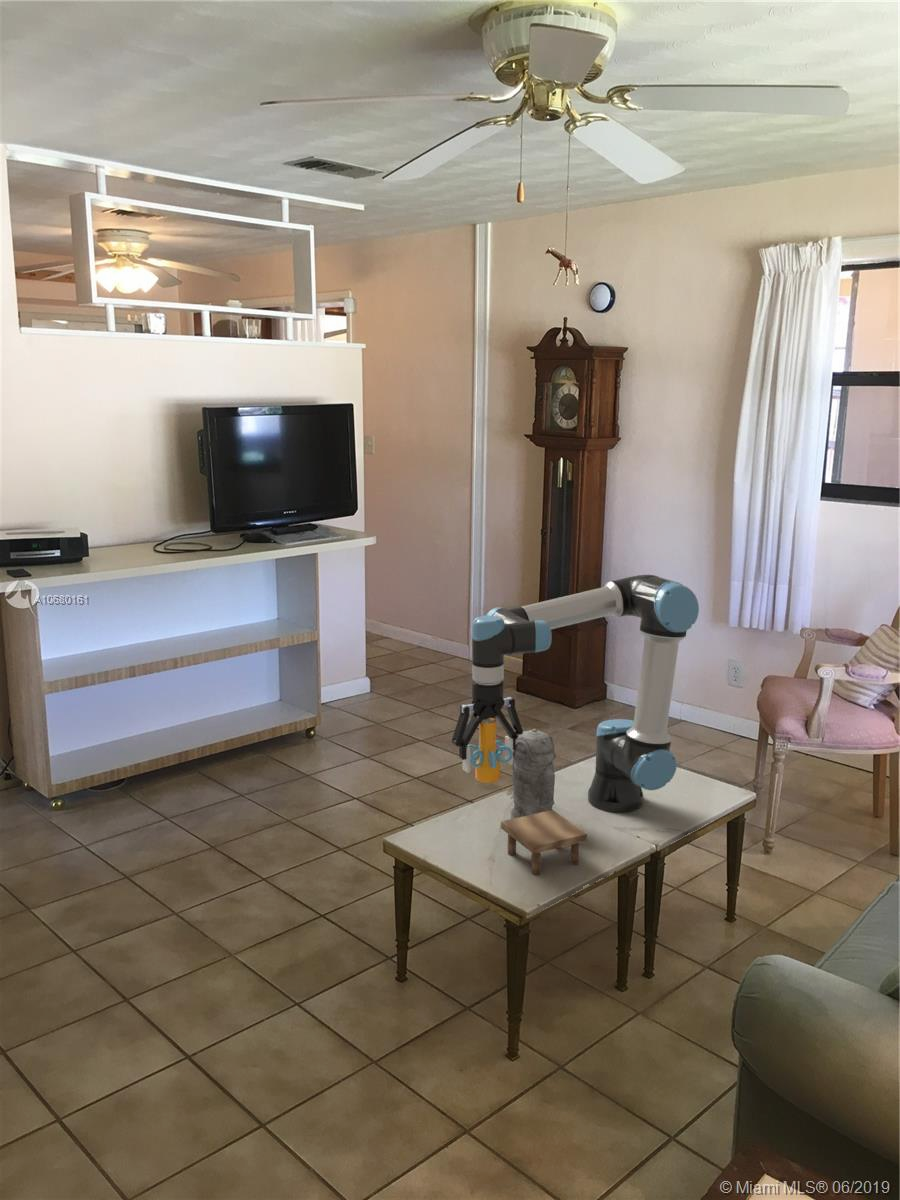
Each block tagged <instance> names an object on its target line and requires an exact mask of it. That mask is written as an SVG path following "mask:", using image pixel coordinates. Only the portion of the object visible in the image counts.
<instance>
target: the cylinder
mask: <svg viewBox="0 0 900 1200" xmlns="http://www.w3.org/2000/svg"><path fill="white" fill-rule="evenodd" d="M478 727H479V732H478V735H479V739H478V740H479V741H478V746H477V745H476V744H468V746H469V747H470V749H471V748H472V749H474V750H475V751H473V753H472V755H471V757H470V764H471V765H472V766H473V768H475V772H474V773H475V774H474V775H475V780H476V781H477V782H479V783H484V784H492V783H493V784H494V783H496V782H498V781H499V780H500V779H501V763H507V762H509V761H510V760H511V759H512V757H513V752H512V750H511V749H510V748H509V747H507V746H505V745H504V742H503V741H502V740H497V720H496V718H489V719H486V720H484V719H483V721H482V722H481V723H480V724H479V726H478ZM498 745H500V746H499V747H497V746H498ZM505 749H506V750H508V751H509V753H510V756H509V758H507V759H505V758H501V756H502V754H503V752H504V750H505ZM513 758H514V757H513Z"/></svg>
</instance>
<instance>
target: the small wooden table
mask: <svg viewBox="0 0 900 1200" xmlns="http://www.w3.org/2000/svg"><path fill="white" fill-rule="evenodd" d="M500 829H502V830H503V831H504V832H505V833H506V834H507V854H508V855H509V856H515V855H516V854H517V842H518V843H519V844H520V845H521V846H523V848H525V849H527V850H528V851H529V852H530V853H531V875H534V876H539V875H540V874H541V856H542V855H541V854H542V853H543V852H548V851H552V850H557V849H559V848H560V849H561V848H564V847H567V846H570V858H569V859H570V864H571V865H574V866H575V865H579V863H580V860H579V859H580V843H584V842H588V833H587V832H586V831H584V830H582V829H581V828H580V827H578V826H577V825H575V824H574V823H572V822H571V821H569V820H568V819H567V818H565V817H564V816H563V815H561V814H560V813H558V812H557V811H555V810H554V809H552V810H550V811H545V812H541V813H536V814H532V815H528V816H523V817H519V818H515V819H511V818H510V819H506V820H502V821H500Z"/></svg>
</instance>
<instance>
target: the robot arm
mask: <svg viewBox="0 0 900 1200" xmlns="http://www.w3.org/2000/svg"><path fill="white" fill-rule="evenodd" d="M698 601H699V600H698V598H697V595H696V594H695V593H694V591H693V590H691V588H689V587H688V586H686V585H683V584H682V583H681V582H677V581H674V580H670V579H668V578H667V579H666V578H663V577H660V576H657V575H654V574H653V575H652V574H638V575H634V576H629V577H624V578H619V579H616V580H612V581H611V580H610V581H607V582H606V583H605V585H604V586H603V587H598V588H594V589H589V590H585V591H581V592H579V593H574V594H569V595H565V596H562V597H561V596H559V597H556V598H552V599H548V600H544V601H540V602H535V603H532V604H530V603H529V604H527V605H523V606H518V607H514V608H506V607H499V606H498V607H497V606H496V607H494V608H492V609H490V610H489V611H488V612H487V614H486V615H481V616H477V617H476V618H474V619H473V621H472V627H471V651H472V652H471V653H472V656H471V657H472V658H471V659H472V660H471V661H472V665H471V672H472V673H471V675H472V676H471V677H472V679H471V680H473V681H472V683H471V685H472V686H471V687H472V689H471V691H472V692H471V695H472V701H471V703H470V704H464V703H462V704H460V705H459V706H460V708H459V712H460V713H459V717H458V719H457V723H456V725H455V729H454V732H453V735H452V739H451V743H452V744H453V745H455V746H456V747H459V748H458V749H459V750H458V751H459V753H458V754H459V755H458V756H459V758H460V759H461V760H462V761H461V763H462V766H461V767H462V771H464V772H465V773H467V774H470V773H471V761H470V758H471V748H470V747H469V746H468V745H470V742H471V740H472V738H473V736H474V734H475V732H476V731H477V729H478V727H479V724H480V723H481V722H482V721H483V719H484V720H486V719H489V718H493V719H497V720H498V722H499V723H500V725H501V726H502V728H503V730H505V732H506V734H507V735H504V746H507V747H509V748H510V749H511V750H512V752H513V750H515V748H516V740H517V738H518V736H519V735H521V734H522V733H523V731H524V729H523V727H522V723H521V721H520V719H519V715H518V713H517V710H516V699H515V698H513V697H511V696H506V697H505V698H504V682H503V680H504V679H505V678H504V677H505V676H504V675H505V673H504V670H505V669H504V668H505V667H504V662H505V661H504V660H505V656H510V655H519V654H521V655H522V654H531V653H534V654H535V653H536V654H537V653H539V652H543V651H547V650H549V649H550V647H551V645H552V638H553V637H552V636H553V634H552V630H554V629H558V628H562V627H563V628H564V627H566V626H571V625H575V624H579V623H580V624H581V623H583V622H588V621H592V620H596V619H599V618H605V617H608V616H611V617H614V618H621V617H626V616H627V617H628V616H629V617H636V618H640V624H639V625H640V626H639V632H640V633H641V634H642V636H643V637H644V643H643V649H642V656H641V662H640V663H641V665H640V670H639V672H640V673H639V679H638V685H637V686H638V687H637V695H636V701H635V702H636V703H635V709H634V716H633V717H634V718H633V720H632V719H625V718H623V719H621V718H616V719H615V718H614V719H607V720H604V721H601V722H600V723H599V724H598V725H597V729H596V735H595V737H596V743H595V744H596V749H595V750H596V751H595V771H594V775H593V779H592V782H591V784H590V787H589V789H588V792H587V801H588V802H589V804H590V805H592V806H593V807H595V808H597V809H599V810H603V811H607V812H612V813H613V812H614V813H627V812H633V811H637V810H638V809H640V808H641V807H642V806H643V804H644V793H643V790H647V791H656V790H660V789H662V788H664V787H665V786H666V785H667V784H668V783H670V782H671V781H672V780H673V778H674V777H675V774H676V773H677V772H676V771H677V767H678V763H677V759H676V757H675V756H674V754H673V753H672V752H671V744H672V737H671V735H670V734H669V733H668V731H667V730H668V724H669V716H670V710H671V709H670V708H671V701H672V696H673V694H672V693H673V688H674V681H675V680H674V679H675V673H676V664H677V659H678V658H677V657H678V651H679V644H680V642H681V641H682V640H684V639H685V638H686V637H687V632H688V630H690V629H691V628H692V626H693V625H694V624H696V622H697V620H698V616H699V610H700V607H699V602H698ZM504 706H505V708H506V711H507V714H508V716H509V720H510V723H511V724H510V723H509V721H508V719H506V716H505V714H504V713H503V711H502V708H503V707H504ZM472 711H473V712H472ZM470 715H471V717H470ZM469 718H470V720H469ZM509 756H510V753H509V751H508V750H506V749H504V759H507V758H509ZM513 758H514V757H512V759H511V760H510V761H509V762H506V763H507V764H509V765H511V766H512V764H513Z"/></svg>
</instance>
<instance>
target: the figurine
mask: <svg viewBox="0 0 900 1200" xmlns="http://www.w3.org/2000/svg"><path fill="white" fill-rule="evenodd" d="M556 757H557V755H556V753H555V744H554V741H553V738H552V736H551V735H549V734H548V733H546V732H544V731H541V730H537V729H536V728H533V729H532V730H531V729H530V730H526V731H525V730H523V733H522V734H521V735H520V734H519V735H518V738H517V739H516V748H515V750H513V764H511V766H512V777H511V780H512V781H511V782H512V786H511V790H512V793H513V804H514V805H513V807H512V809H511V810H510V815H509V816H510V819H515V818H519V817H523V816H528V815H532V814H536V813H541V812H545V811H550V810H553V806H554V805H555V801H554V795H555V780H556V774H555V771H554V769H555V767H554V763H553V761H554V760H555V759H556Z"/></svg>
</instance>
